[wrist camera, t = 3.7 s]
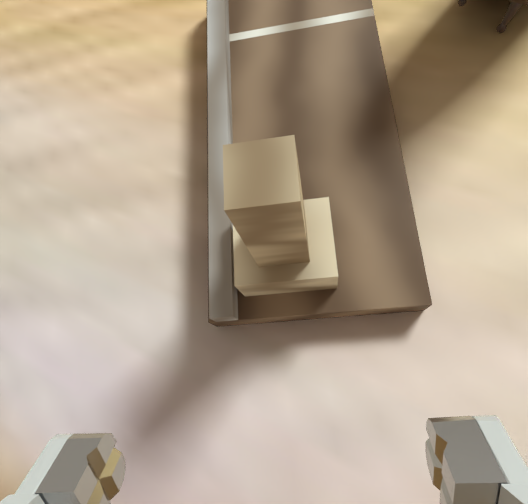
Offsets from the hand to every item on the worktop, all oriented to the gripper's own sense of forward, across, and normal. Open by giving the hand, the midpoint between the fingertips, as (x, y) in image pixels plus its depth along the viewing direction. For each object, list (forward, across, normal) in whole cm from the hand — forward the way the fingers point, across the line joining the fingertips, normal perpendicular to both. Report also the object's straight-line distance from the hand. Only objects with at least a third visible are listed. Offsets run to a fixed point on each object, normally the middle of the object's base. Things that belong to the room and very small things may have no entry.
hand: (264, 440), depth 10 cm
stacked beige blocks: (+16, 0, +3) cm, 16 cm away
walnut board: (+25, -2, -4) cm, 26 cm away
